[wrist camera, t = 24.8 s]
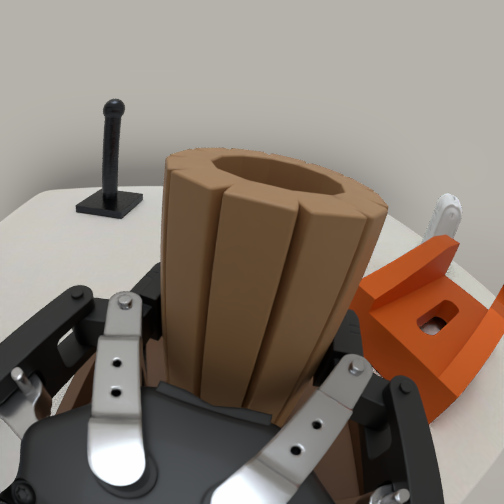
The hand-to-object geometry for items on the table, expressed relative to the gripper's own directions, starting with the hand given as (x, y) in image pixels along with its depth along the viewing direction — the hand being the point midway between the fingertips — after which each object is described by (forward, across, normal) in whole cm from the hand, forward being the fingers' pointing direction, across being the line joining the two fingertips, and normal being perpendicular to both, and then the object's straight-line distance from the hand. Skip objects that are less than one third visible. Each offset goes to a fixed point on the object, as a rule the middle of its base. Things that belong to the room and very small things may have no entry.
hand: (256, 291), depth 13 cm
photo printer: (+33, -27, +8) cm, 44 cm away
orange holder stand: (+10, -18, +9) cm, 22 cm away
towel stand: (+22, +26, +8) cm, 35 cm away
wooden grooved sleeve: (-2, 0, +6) cm, 6 cm away
